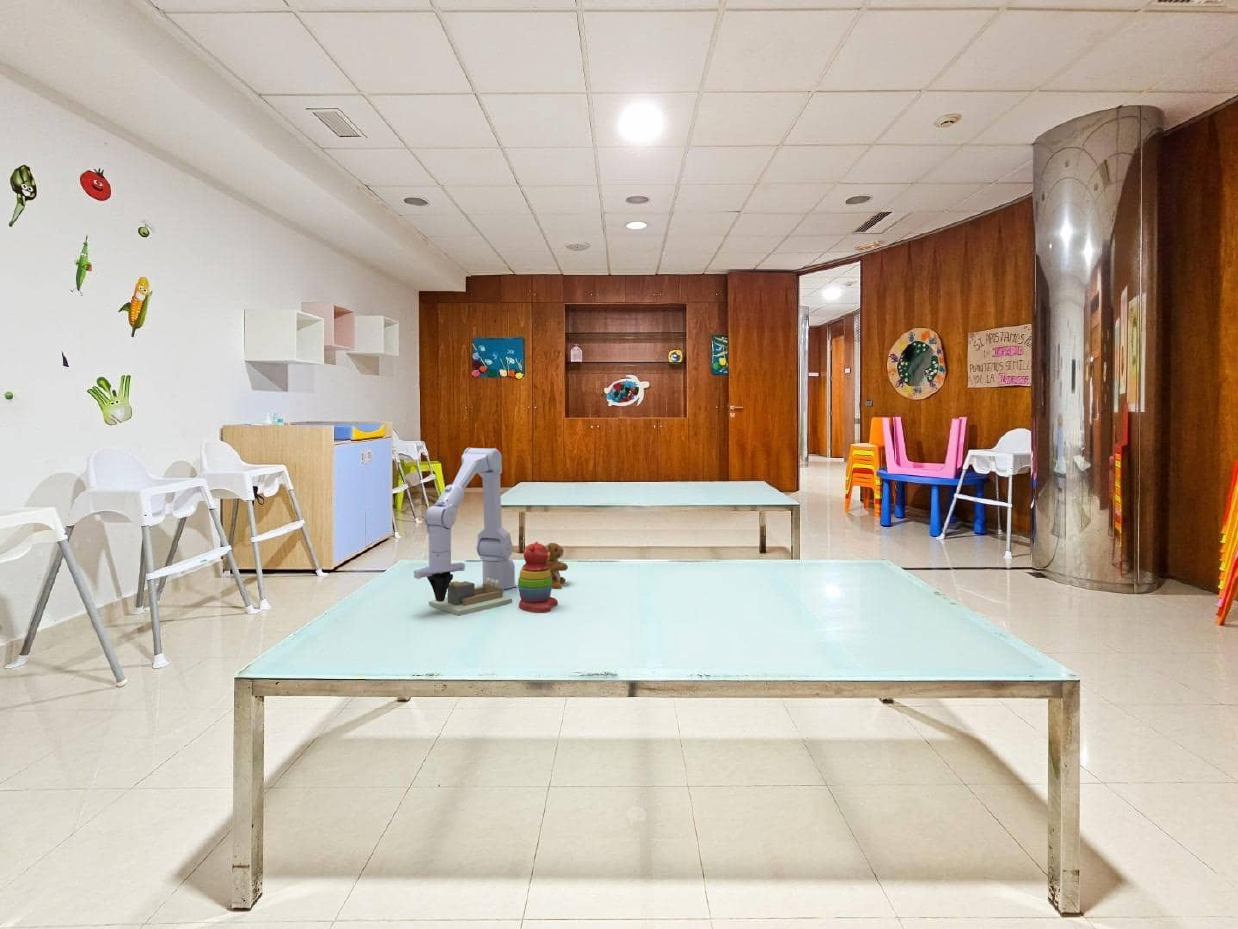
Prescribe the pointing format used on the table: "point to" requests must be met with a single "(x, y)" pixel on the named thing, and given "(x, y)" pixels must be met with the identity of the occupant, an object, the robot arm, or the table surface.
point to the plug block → (460, 591)
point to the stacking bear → (536, 580)
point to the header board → (476, 600)
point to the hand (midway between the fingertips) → (440, 600)
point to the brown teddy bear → (556, 564)
